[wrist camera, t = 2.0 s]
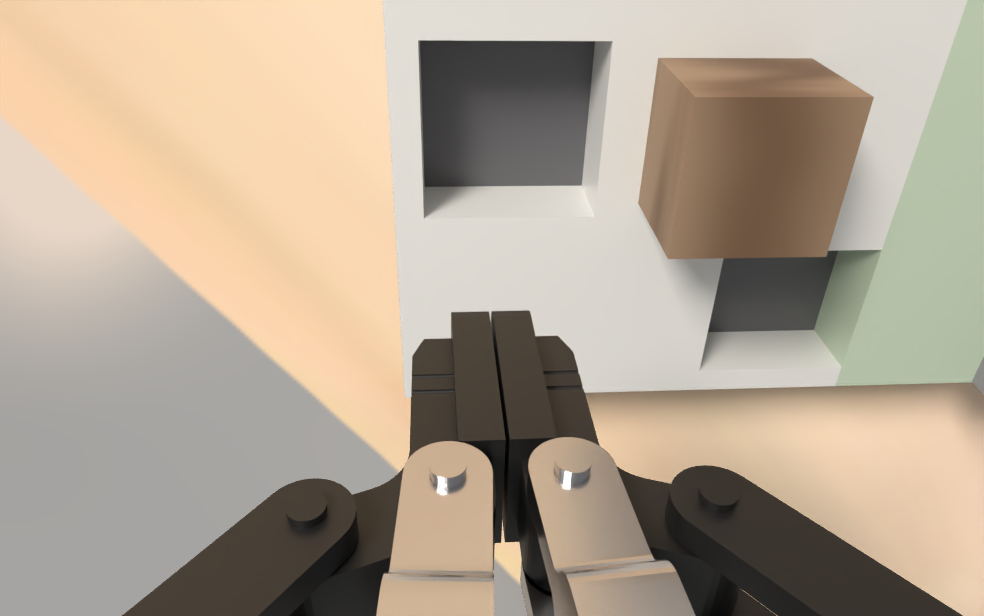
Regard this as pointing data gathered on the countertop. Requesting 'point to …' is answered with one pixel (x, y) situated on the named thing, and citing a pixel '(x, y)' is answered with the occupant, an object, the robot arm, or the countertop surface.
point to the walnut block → (749, 156)
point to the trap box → (617, 179)
